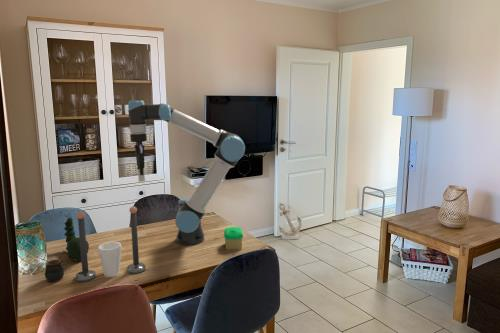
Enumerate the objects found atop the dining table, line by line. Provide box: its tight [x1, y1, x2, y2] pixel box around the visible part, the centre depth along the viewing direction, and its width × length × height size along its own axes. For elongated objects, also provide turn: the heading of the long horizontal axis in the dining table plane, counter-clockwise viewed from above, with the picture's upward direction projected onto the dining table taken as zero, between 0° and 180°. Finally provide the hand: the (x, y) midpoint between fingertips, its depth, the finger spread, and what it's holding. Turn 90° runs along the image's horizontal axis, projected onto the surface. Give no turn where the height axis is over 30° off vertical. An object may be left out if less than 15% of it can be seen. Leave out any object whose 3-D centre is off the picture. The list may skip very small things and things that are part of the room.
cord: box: [129, 206, 140, 266], centre depth 168 cm, size 3×3×28 cm
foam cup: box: [97, 241, 123, 278], centre depth 166 cm, size 10×9×13 cm
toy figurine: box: [63, 217, 90, 262], centre depth 183 cm, size 9×19×25 cm
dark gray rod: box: [76, 211, 89, 274], centre depth 161 cm, size 3×3×28 cm
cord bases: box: [74, 262, 146, 283], centre depth 167 cm, size 29×8×2 cm, turn 111°
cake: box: [223, 226, 244, 250], centre depth 197 cm, size 10×11×10 cm
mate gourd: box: [44, 258, 65, 283], centre depth 161 cm, size 7×8×10 cm
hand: (141, 181), depth 186 cm, fingers closed
